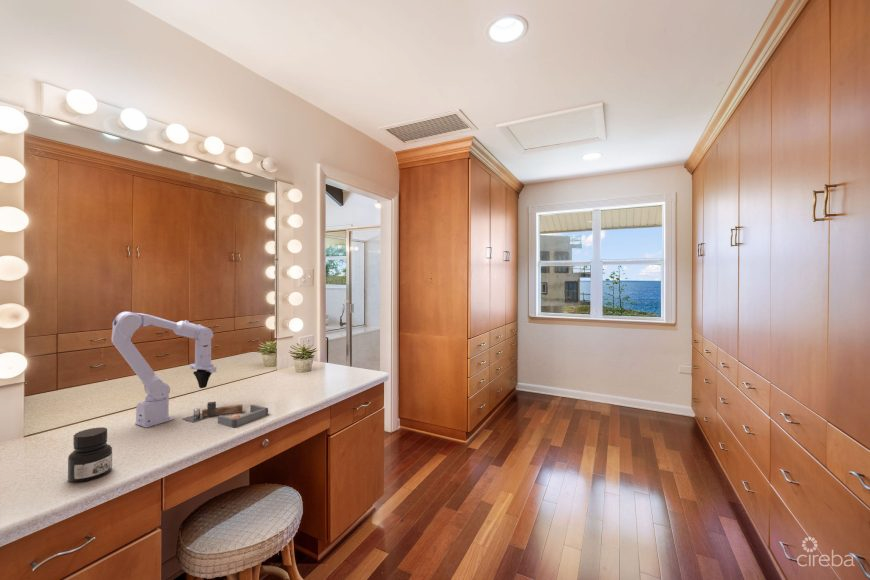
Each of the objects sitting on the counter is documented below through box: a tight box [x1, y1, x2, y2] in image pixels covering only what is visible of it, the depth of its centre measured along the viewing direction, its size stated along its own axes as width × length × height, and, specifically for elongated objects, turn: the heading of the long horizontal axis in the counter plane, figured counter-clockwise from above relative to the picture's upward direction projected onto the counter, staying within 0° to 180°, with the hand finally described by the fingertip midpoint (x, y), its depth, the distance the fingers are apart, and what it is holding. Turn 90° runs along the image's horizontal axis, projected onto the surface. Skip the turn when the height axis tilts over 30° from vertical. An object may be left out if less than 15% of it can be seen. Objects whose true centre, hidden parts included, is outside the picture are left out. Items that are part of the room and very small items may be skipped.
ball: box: [230, 413, 241, 419], centre depth 138 cm, size 4×4×4 cm
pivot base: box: [181, 407, 212, 423], centre depth 142 cm, size 7×7×4 cm
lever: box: [201, 401, 244, 417], centre depth 146 cm, size 14×4×5 cm, turn 119°
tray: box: [217, 404, 269, 429], centre depth 142 cm, size 15×9×3 cm, turn 155°
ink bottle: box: [67, 426, 113, 483], centre depth 100 cm, size 10×9×12 cm
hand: (202, 387), depth 150 cm, fingers closed
